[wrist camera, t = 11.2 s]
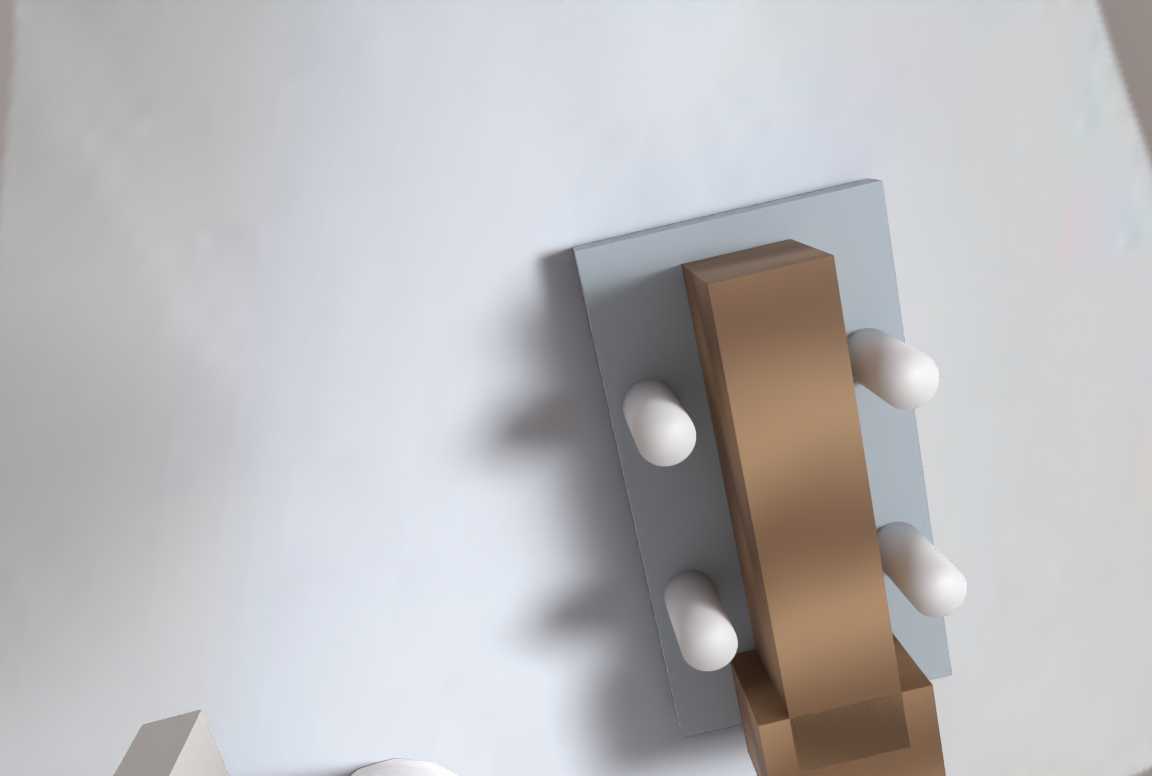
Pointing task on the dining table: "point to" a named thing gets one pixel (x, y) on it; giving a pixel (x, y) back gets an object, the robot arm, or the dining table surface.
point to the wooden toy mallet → (804, 524)
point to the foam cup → (403, 769)
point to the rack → (688, 448)
